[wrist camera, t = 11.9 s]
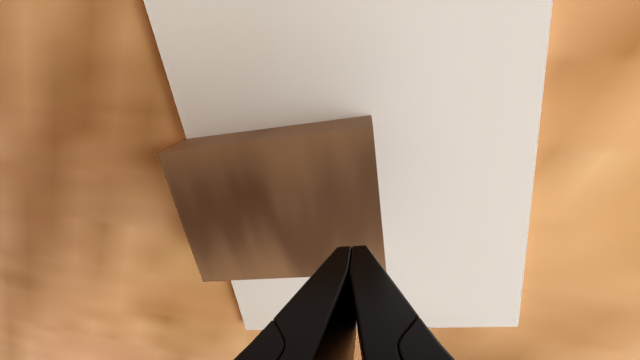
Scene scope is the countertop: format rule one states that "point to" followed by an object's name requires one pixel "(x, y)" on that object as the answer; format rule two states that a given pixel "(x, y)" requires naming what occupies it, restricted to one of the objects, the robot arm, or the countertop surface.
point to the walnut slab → (276, 197)
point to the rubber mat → (387, 125)
